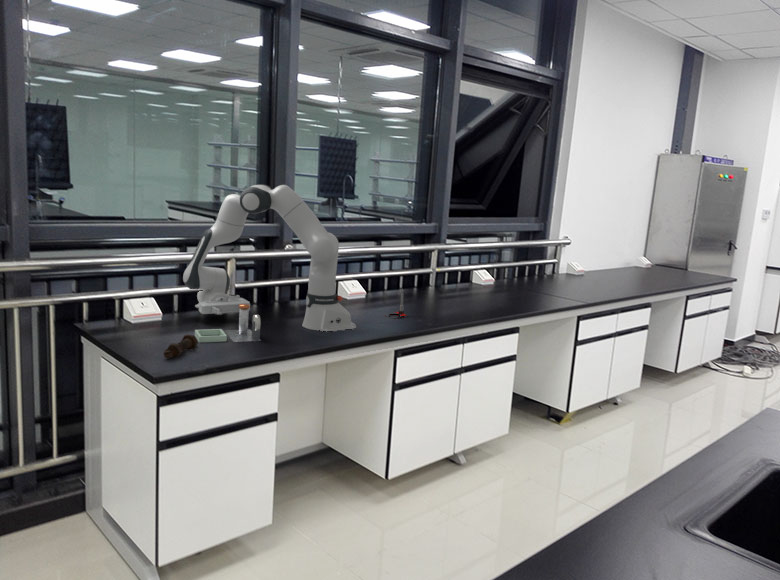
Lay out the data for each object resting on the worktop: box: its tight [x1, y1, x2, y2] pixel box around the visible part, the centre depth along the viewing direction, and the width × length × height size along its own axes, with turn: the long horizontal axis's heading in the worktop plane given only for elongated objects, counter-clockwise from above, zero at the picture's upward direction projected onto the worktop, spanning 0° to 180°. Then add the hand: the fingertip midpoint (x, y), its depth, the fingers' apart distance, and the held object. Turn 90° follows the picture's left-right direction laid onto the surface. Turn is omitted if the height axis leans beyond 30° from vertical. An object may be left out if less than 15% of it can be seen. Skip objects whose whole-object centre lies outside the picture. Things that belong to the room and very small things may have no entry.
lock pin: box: [238, 304, 251, 334], centre depth 235 cm, size 4×4×11 cm
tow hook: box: [395, 288, 408, 316], centre depth 289 cm, size 8×13×9 cm
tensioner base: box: [223, 314, 262, 343], centre depth 233 cm, size 10×16×10 cm, turn 26°
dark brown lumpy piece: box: [163, 334, 199, 360], centre depth 208 cm, size 6×5×15 cm
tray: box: [194, 328, 228, 344], centre depth 226 cm, size 10×10×3 cm
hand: (231, 311), depth 244 cm, fingers open, 8 cm apart
